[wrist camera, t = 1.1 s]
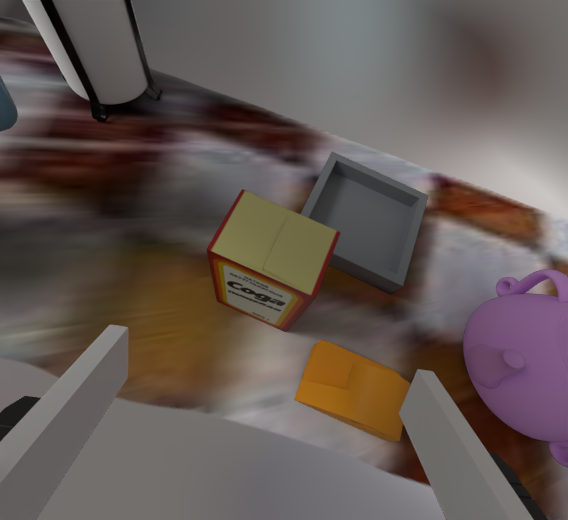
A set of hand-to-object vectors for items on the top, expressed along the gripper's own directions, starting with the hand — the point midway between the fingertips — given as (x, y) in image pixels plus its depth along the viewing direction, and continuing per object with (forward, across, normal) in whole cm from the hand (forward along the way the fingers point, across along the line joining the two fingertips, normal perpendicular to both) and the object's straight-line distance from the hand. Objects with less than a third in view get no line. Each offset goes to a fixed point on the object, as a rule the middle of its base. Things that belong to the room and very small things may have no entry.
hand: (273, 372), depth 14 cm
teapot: (+21, +32, -12) cm, 40 cm away
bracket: (+18, +11, -16) cm, 26 cm away
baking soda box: (+24, 0, -9) cm, 26 cm away
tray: (+34, +12, 0) cm, 36 cm away
